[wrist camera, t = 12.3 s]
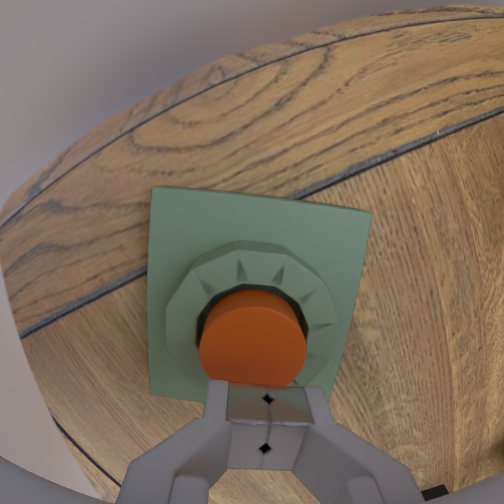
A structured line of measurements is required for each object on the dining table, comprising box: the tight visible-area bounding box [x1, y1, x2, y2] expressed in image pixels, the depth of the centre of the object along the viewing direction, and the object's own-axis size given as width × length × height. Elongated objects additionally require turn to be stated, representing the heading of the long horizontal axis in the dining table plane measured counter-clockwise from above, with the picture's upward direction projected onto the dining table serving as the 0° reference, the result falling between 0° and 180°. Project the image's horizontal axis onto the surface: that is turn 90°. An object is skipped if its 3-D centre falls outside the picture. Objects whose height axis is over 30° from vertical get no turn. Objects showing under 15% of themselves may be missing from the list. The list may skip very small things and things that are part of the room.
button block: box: [147, 186, 372, 402], centre depth 13 cm, size 9×10×4 cm
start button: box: [199, 289, 306, 386], centre depth 11 cm, size 4×4×2 cm
